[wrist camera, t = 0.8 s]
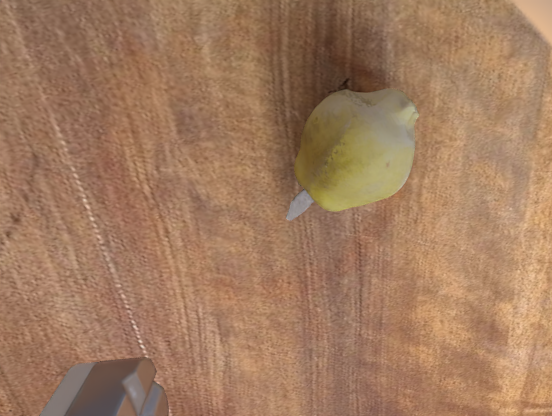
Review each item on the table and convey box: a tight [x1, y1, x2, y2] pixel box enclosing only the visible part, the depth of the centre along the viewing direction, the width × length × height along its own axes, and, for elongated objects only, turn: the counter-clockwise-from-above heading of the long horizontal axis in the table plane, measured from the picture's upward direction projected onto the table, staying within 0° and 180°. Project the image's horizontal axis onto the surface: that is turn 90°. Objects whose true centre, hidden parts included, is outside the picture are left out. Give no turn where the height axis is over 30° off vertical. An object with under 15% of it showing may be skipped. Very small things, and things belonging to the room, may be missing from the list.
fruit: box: [286, 88, 419, 220], centre depth 23 cm, size 6×6×10 cm
